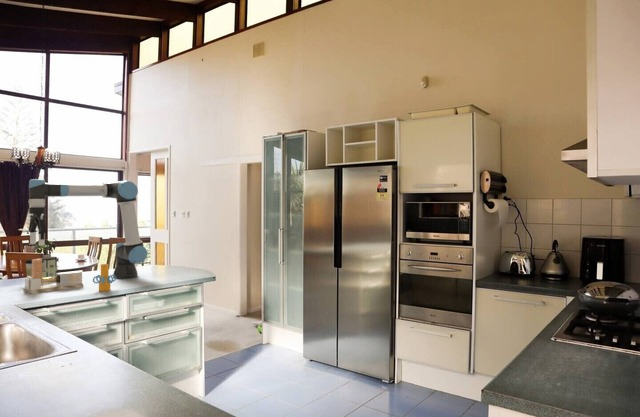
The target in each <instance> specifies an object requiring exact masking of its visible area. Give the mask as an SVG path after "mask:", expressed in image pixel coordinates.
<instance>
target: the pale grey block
mask: <svg viewBox="0 0 640 417" xmlns="http://www.w3.org/2000/svg"><path fill="white" fill-rule="evenodd" d="M57 276H60V282H55V285H57V286H60V287H62V286H70V285H77V284H83V272H82V271H79V270H74V271H64V272H57V273H56V277H57Z"/></svg>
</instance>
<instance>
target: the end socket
mask: <svg viewBox="0 0 640 417" xmlns="http://www.w3.org/2000/svg"><path fill="white" fill-rule="evenodd" d="M24 282H25V283H24V289H26V290H29V291H30V290H38V289H41V287H42V284H41V278H37V279H33V277H30V276H27V275H26V278H24Z"/></svg>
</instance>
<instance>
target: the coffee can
mask: <svg viewBox="0 0 640 417" xmlns="http://www.w3.org/2000/svg"><path fill="white" fill-rule="evenodd" d="M37 259H43V261H44V263H43V271H42V278H48V277H56V273H58V257H57V256H42V257H38V258H37Z"/></svg>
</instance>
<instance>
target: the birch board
mask: <svg viewBox="0 0 640 417" xmlns="http://www.w3.org/2000/svg"><path fill="white" fill-rule="evenodd" d="M83 287H84V283H82V284H77V285H70V286H62V287H60V286H57V285H56V284H52V285H44V286H41V289H38V290H30V291H29V290H26V289H25V288H23V292H24V293H26V294H29V295H31V294H38V293H47V292H52V291H53V292H54V291H62V290H69V289H76V288H77V289H78V288H83Z"/></svg>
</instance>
